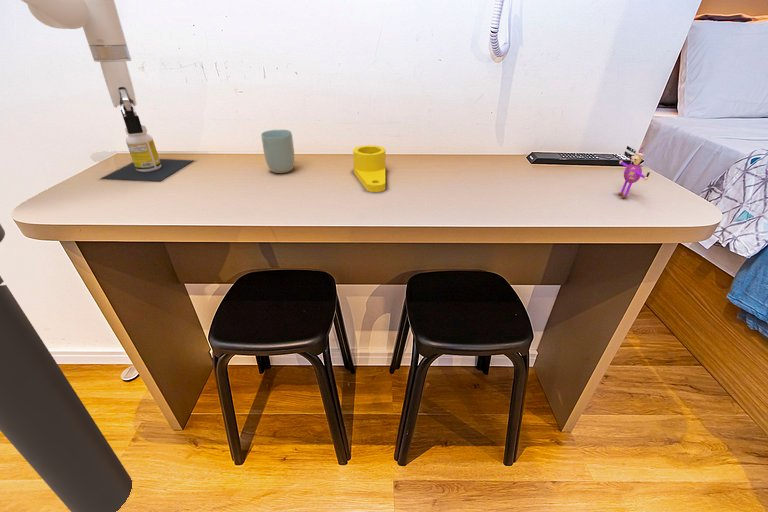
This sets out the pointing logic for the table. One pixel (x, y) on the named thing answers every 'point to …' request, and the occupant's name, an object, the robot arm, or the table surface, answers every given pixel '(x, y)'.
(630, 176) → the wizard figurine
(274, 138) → the cup
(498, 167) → the table surface
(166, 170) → the mat
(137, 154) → the pill bottle
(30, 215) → the table surface
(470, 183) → the table surface
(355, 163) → the crank
